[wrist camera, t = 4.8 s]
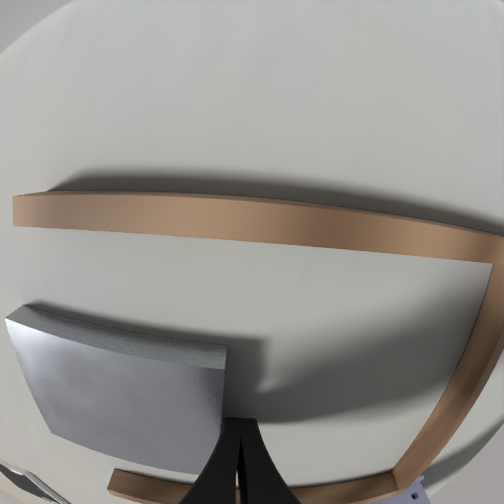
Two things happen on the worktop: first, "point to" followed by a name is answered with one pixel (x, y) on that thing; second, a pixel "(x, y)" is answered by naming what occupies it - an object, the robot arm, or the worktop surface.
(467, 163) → the worktop surface
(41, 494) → the smartphone
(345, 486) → the walnut u-shaped frame
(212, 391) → the cover plate
